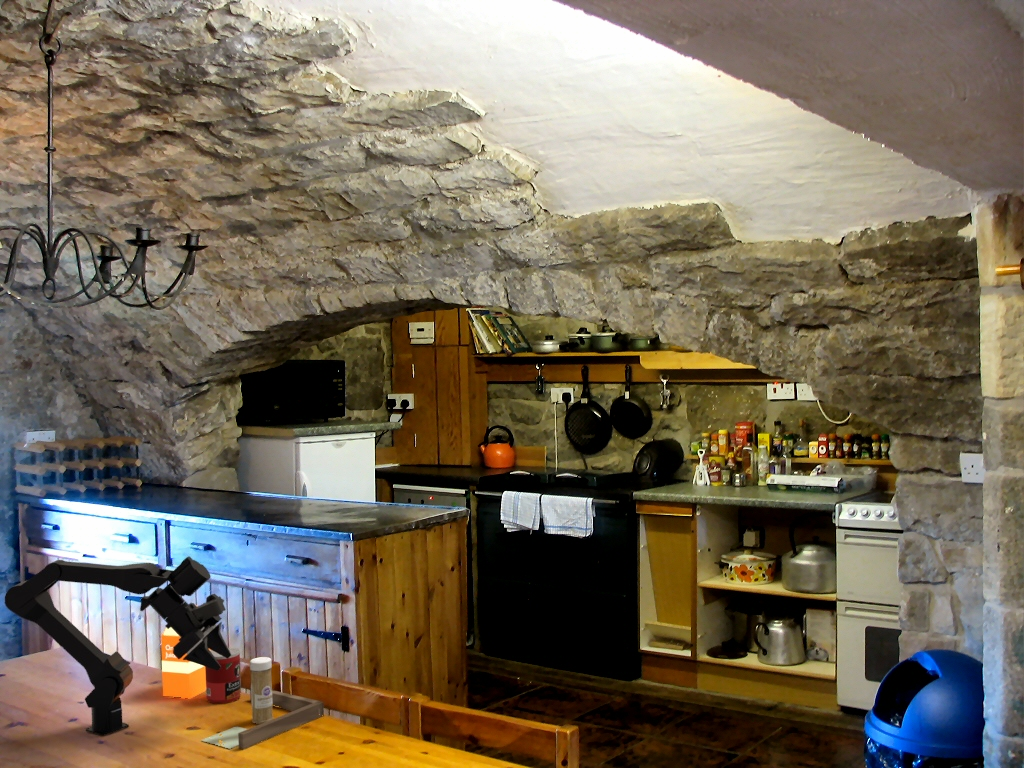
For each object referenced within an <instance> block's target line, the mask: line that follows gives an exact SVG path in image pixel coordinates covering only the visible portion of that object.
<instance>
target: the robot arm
mask: <svg viewBox="0 0 1024 768" xmlns="http://www.w3.org/2000/svg"><path fill="white" fill-rule="evenodd" d="M210 579H211V573H210V572H209V570H208V568H206V567H205V565H204V564H201V563H200V562H199V561H197V560H196V559H193V558H192V557H191V556H188V555H187V556H186V557H185V558H184V559H183V560H182V561H181V562H180V564H179V565H177V567H175V568H174V569H173V570H171V569H165V568H159V567H158V565H157V564H155V563H152V562H140V563H138V562H137V563H132V564H131V563H129V564H124V565H123V564H122V565H111V564H100V563H99V564H98V563H88V562H87V563H86V562H76V561H66V560H64V559H57V560H55V561H52V562H49V563H47V564H46V565H45V566H44V568H43V569H41V570H40V571H38V572H37V573H36V574H34V575H33V576H32V577H31V578H29V579H28V580H27V579H26V580H25V581H24V580H23V581H22V582H20V583H18V584H16V585H13V586H12V587H10V588H8V589H7V591H6V593H5V596H4V601H3V602H4V605H5V607H6V609H8V610H9V611H10V612H12V613H13V614H15V615H16V616H18V617H20V618H21V619H23V620H26V621H29V622H30V623H31V622H32V623H34V624H36V625H37V626H39V627H40V628H41V629H42V631H44V632H45V633H46V634H47V635H48V636H49V637H50V638H52V640H53V641H55V642H56V643H57V644H58V645H59V646H60V647H61V648H62V649H63V650H64V651H65V652H66V653H68V654H69V655H70V656H71V657H72V658H73V659H74V660H75V661H76V662H77V663H78V664H80V666H81V667H82V668H84V670H85V672H86V674H87V677H88V679H89V682H90V683H91V686H92V687H93V689H92V690H91V692H90V693H88V695H86V697H85V698H84V701H85V704H86V706H87V708H91V726H88V727H85V731H86V733H87V732H88V733H91V734H94V735H98V736H100V737H102V736H103V737H104V736H107V735H109V734H112V733H115V732H118V731H121V730H123V729H126V728H128V727H129V726H130V725H129V723H126V722H123V708H122V700H121V696H122V695H123V694H125V690H126V689H127V687H129V686H130V684H132V682H133V678H134V671H133V668H131V666H130V664H131V662H130V661H127V660H126V659H125V658H124V657H123V656H122V655H121V654H120V652H118V650H117V651H115V652H113V653H112V654H108V653H106V652H104V651H102V649H100V648H99V647H97V646H96V644H95V643H94V642H92V641H91V639H89V638H88V637H87V636H86V635H85V634H84V633H83V632H82V631H81V630H79V629H78V628H77V627H76V626H75V625H74V624H73V623H72V622H71V621H70V620H69V619H68V618H67V617H66V616H65V615H63V614H62V613H61V612H60V611H59V610H58V609H57V608H56V606H55V604H54V601H53V600H52V599H53V598H52V597H51V594H50V593H49V592H48V591H49V590H50V589H51V588H52V587H54V586H55V585H56V584H58V582H66V583H67V582H68V583H79V584H90V585H100V586H101V585H102V586H110V587H114V588H118V589H119V590H120V591H123V592H128V593H132V594H135V595H143V596H142V597H141V598H140V607H139V610H140V612H143V611H145V610H147V609H148V608H149V607H151V608H152V609H153V610H154V612H156V613H157V614H158V616H160V618H161V619H163V620H164V622H165V623H166V624H165V628H166V627H167V629H169V628H170V627H171V628H172V629H173V630H174V631H175V632H176V633H177V634H178V635H179V636H180V637H181V638H180V639H179V642H178V643H177V644H176V645H175V646H174V647H173V654H174V655H175V656H176V657H177V658H178V659H181V658H182V657H183V656H184V655H185V654H187V655H186V656H185V657H184V658H183V660H187V661H191V662H194V663H197V664H200V665H203V666H205V667H208V668H211V669H213V670H216V671H218V670H219V669H220V668H221V666H220V664H219V663H218V661H217V660H216V658H215V657H214V656H213V654H212V653H211V651H210V650H209V649H211V650H213V651H214V652H216V653H218V654H220V655H222V656H224V657H226V658H229V657H230V656H231V653H230V651H229V649H228V648H229V647H228V645H227V643H226V641H225V639H224V637H223V635H222V634H221V629H222V624H223V621H221V620H222V617H221V616H220V615H222V614H223V613H224V612H226V610H227V609H226V607H225V605H224V603H225V600H224V598H222V597H221V595H220V596H218V594H216V593H212V594H209V595H208V596H207V597H206V601H205V602H203V603H201V604H200V605H197V604H195V603H194V602H193V603H192V602H190V603H188V602H187V601H186V600H185V599H184V598H183V597H185V596H187V597H191V596H193V594H195V593H196V592H197V591H198V590H199V589H201V588H202V586H203V585H205V583H207V582H208V581H209V580H210ZM167 582H169V583H168V584H167V585H166V586H164V588H162V587H161V586H163V585H165V584H166V583H167ZM155 588H156V589H155ZM153 589H155V590H153ZM151 590H153V591H152V593H150V594H149V595H148V596H147V595H144V594H146V593H148V592H150V591H151ZM196 605H197V606H196ZM208 648H209V649H208Z"/></svg>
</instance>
